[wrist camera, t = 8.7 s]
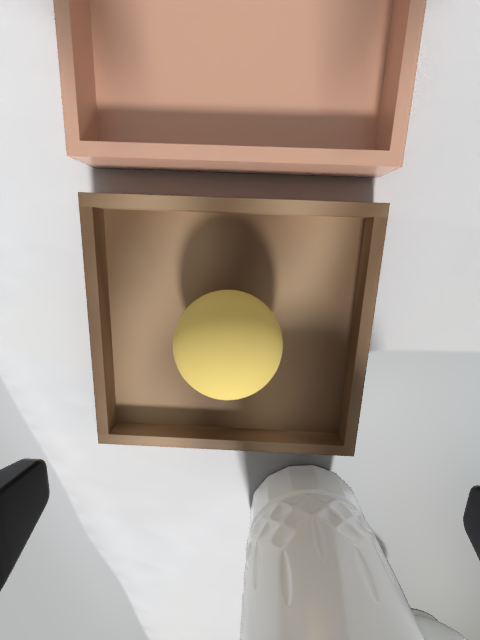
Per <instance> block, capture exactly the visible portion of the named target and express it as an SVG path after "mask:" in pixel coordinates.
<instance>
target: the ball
mask: <svg viewBox="0 0 480 640" xmlns="http://www.w3.org/2000/svg"><path fill="white" fill-rule="evenodd" d="M282 351H283V339H282V332H281V329H280V325H279V323H278V321H277V319H276V317H275V316H274V314H273V313H272V311H271V310H270V309H269V308H268V306H266V305H265V304H264V303H263V302H262V301H261V300H259V299H258V298H256V297H254V296H253V295H251V294H248V293H245V292H242V291H238V290H219V291H214V292H210V293H208V294H205V295H203V296H201V297H200V298H198V299H197V300H195V301H194V302H193V303H192V304H190V305H189V306H188V307H187V308H186V310H185V311H184V312H183V314H182V315H181V317H180V319H179V321H178V323H177V325H176V328H175V331H174V335H173V355H174V359H175V362H176V365H177V368H178V370H179V372H180V374H181V375H182V377H183V378H184V379H185V381H186V382H187V383H188V384H189V385H190V386H191V387H193V388H194V389H195V390H197V391H198V392H200V393H201V394H203V395H205V396H208V397H211V398H214V399H219V400H236V399H241V398H245V397H247V396H250V395H252V394H254V393H256V392H258V391H259V390H260V389H262V388H263V387H264V386H265V385H266V384H267V383H268V382H269V381H270V380H271V378H272V377H273V376H274V374H275V372H276V371H277V369H278V366H279V364H280V361H281V357H282Z"/></svg>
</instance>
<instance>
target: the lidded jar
mask: <svg viewBox="0 0 480 640" xmlns="http://www.w3.org/2000/svg"><path fill="white" fill-rule="evenodd" d="M411 610H412V612H413V614H414V616H415V618H416V621H417V623H418V625H419V627H420V629H421V631H422V633H423V635H424V638H425V640H467V639H466V638H465V637H463V636H462V635H461V634H459V633H458V632H456V631H455V630H453V629H451V628H450V627H448V626H446V625H445V624H443V623H440V622H438V621H437V619H435V618H434V617H433V616H432V615H430V614H428V613H426V612H424V611H421V610H417V609H412V608H411Z"/></svg>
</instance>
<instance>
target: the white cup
mask: <svg viewBox="0 0 480 640" xmlns="http://www.w3.org/2000/svg"><path fill="white" fill-rule="evenodd" d="M240 640H425V638H424V635H423V633H422V631H421V629H420V627H419V625H418V623H417V621H416V618H415V616H414V614H413V612H412V610H411V608H410V606H409V604H408V601H407V599H406V597H405V595H404V593H403V591H402V589H401V587H400V584H399V582H398V580H397V578H396V576H395V574H394V572H393V570H392V568H391V566H390V564H389V562H388V560H387V559H386V557H385V555H384V553H383V551H382V549H381V546H380V544H379V542H378V540H377V538H376V536H375V534H374V533H373V531H372V529H371V528H370V526H369V525H368V523H367V521H366V520H365V518H364V515H363V513H362V511H361V509H360V506H359V504H358V502H357V500H356V498H355V496H354V493H353V491H352V489H351V488H350V487H349V486H348V485H347V484H346V483H345V482H344V481H343V480H342V479H341V478H340V477H339V476H338V475H337V474H336V473H334V472H331V471H328V470H326V469H323V468H320V467H317V466H314V465H304V466H288V467H286V468H284V469H282V470H280V471H278V472H276V473H274V474H271V475H269V476H268V477H267V478H266V479H265V480H264V481H263V483H262V484H261V485H260V486H259V487H258V489H257V490H256V491H255V492H254V495H253V500H252V506H251V511H250V525H249V537H248V539H247V547H246V562H245V572H244V589H243V595H242V611H241V627H240Z"/></svg>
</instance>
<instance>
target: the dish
mask: <svg viewBox="0 0 480 640" xmlns="http://www.w3.org/2000/svg"><path fill="white" fill-rule="evenodd" d="M53 1H54V13H55V24H56V36H57V47H58V59H59V70H60V82H61V93H62V105H63V116H64V128H65V139H66V151H67V156H69V157H71V158H73V159H75V160H78V161H80V162H82V163H85V164H87V165H89V166H91V167H94V168H121V169H151V170H180V171H210V172H240V173H269V174H299V175H329V176H359V177H381V176H383V175H385V174H387V173H390V172H392V171H394V170H396V169H398V168H401V167H402V164H403V157H404V151H405V144H406V137H407V130H408V123H409V116H410V110H411V103H412V96H413V89H414V82H415V76H416V69H417V62H418V55H419V48H420V42H421V35H422V28H423V21H424V14H425V8H426V1H427V0H53Z"/></svg>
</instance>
